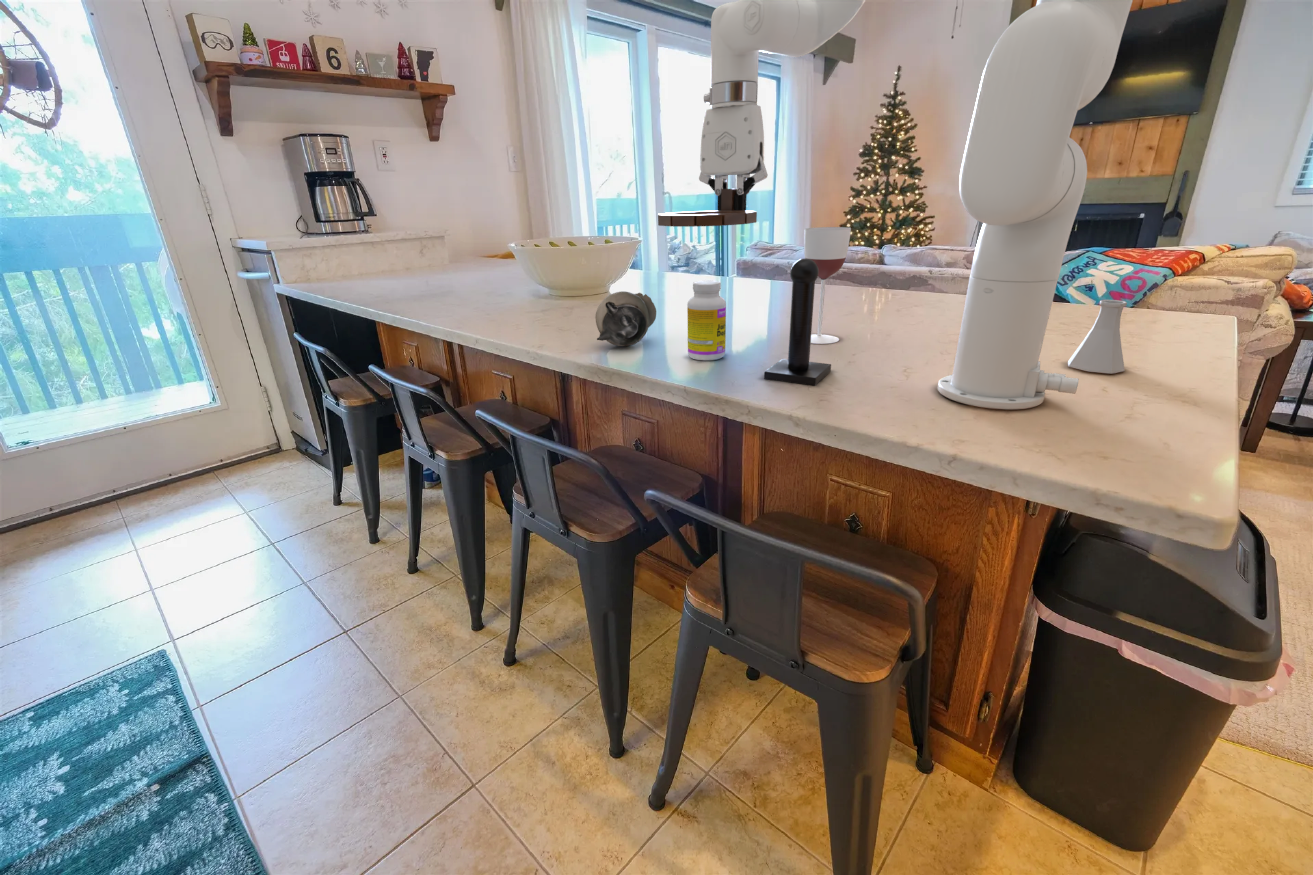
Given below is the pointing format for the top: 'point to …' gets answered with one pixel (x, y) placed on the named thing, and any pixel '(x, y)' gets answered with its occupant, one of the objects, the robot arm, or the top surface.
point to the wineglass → (826, 262)
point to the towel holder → (800, 331)
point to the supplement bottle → (706, 321)
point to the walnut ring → (710, 215)
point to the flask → (1102, 342)
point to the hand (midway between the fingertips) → (731, 219)
